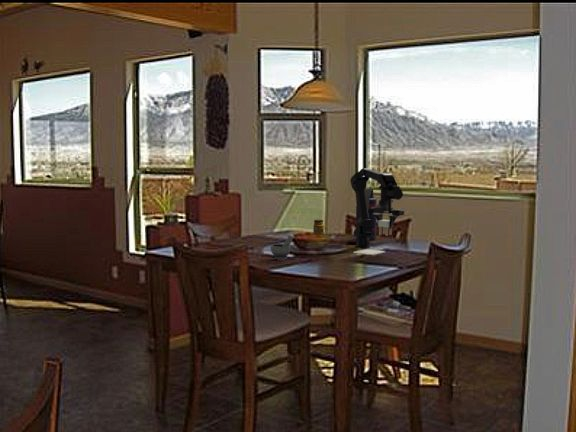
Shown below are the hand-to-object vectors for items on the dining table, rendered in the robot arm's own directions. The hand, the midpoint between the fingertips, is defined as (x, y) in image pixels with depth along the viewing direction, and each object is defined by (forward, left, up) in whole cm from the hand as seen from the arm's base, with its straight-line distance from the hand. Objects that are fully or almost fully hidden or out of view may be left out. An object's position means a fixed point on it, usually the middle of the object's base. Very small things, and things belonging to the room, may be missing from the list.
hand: (385, 228), depth 360 cm
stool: (0, 0, -4) cm, 4 cm away
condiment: (-54, +12, -13) cm, 57 cm away
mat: (-6, -6, -13) cm, 15 cm away
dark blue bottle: (-34, +33, -13) cm, 49 cm away
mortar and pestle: (-28, -50, -13) cm, 58 cm away
